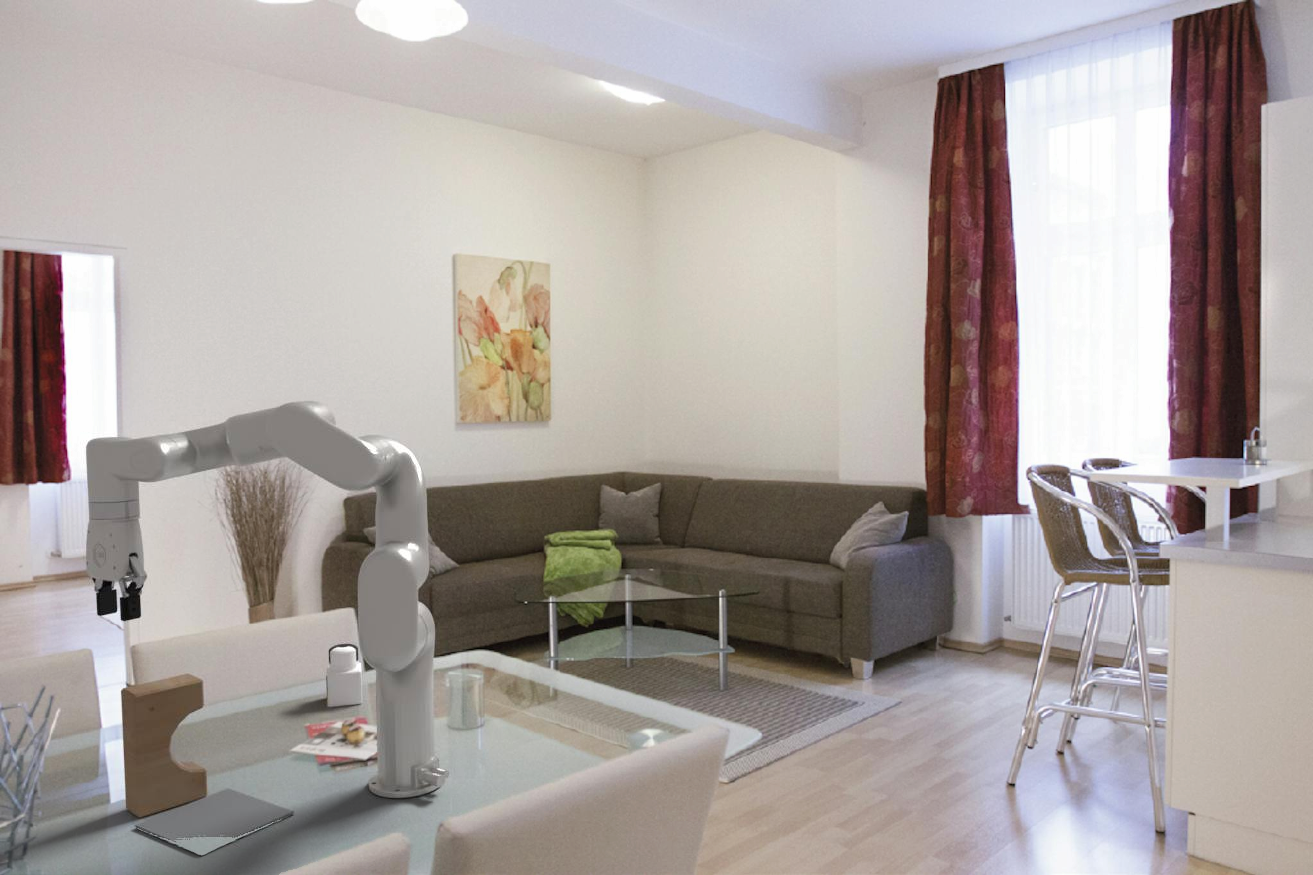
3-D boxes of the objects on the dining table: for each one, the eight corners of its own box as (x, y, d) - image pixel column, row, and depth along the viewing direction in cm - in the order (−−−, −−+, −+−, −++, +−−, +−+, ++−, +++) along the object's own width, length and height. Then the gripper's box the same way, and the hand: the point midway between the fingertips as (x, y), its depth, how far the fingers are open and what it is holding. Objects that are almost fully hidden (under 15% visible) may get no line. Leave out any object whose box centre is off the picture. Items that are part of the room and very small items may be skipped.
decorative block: (194, 787, 169) (190, 672, 168) (208, 797, 165) (204, 679, 164) (124, 809, 161) (119, 687, 159) (138, 819, 157) (132, 695, 156)
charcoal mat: (293, 814, 158) (293, 811, 158) (201, 856, 145) (201, 852, 145) (228, 791, 167) (227, 788, 167) (135, 828, 154) (135, 824, 154)
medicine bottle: (327, 697, 216) (326, 643, 215) (361, 693, 218) (360, 640, 217) (327, 707, 209) (325, 651, 208) (362, 704, 211) (360, 648, 210)
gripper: (64, 510, 168) (68, 615, 169) (121, 517, 158) (125, 628, 160) (108, 505, 174) (112, 606, 175) (165, 511, 165) (170, 618, 166)
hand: (119, 615), depth 167 cm, fingers open, 6 cm apart
